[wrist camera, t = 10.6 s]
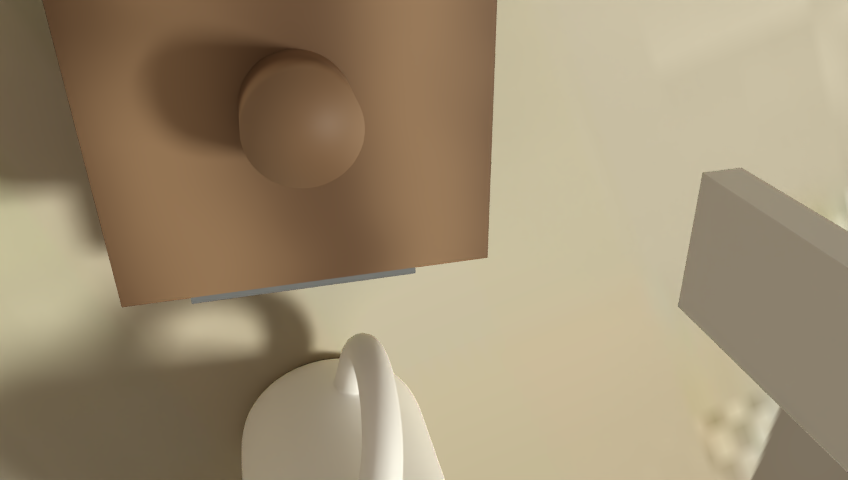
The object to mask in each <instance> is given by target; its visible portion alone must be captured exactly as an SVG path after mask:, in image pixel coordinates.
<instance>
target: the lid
mask: <svg viewBox="0 0 848 480" xmlns="http://www.w3.org/2000/svg"><path fill="white" fill-rule="evenodd" d="M42 1H43V5H44V9H45V13H46V17H47V21H48V24H49V28H50V32H51V36H52V40H53V44H54V48H55V51H56V55H57V59H58V63H59V67H60V71H61V74H62V78H63V82H64V86H65V90H66V94H67V98H68V101H69V105H70V109H71V113H72V117H73V121H74V125H75V128H76V132H77V136H78V140H79V144H80V148H81V152H82V155H83V159H84V163H85V167H86V171H87V175H88V179H89V182H90V186H91V190H92V194H93V198H94V202H95V206H96V209H97V213H98V217H99V221H100V225H101V229H102V233H103V236H104V240H105V244H106V248H107V252H108V256H109V260H110V263H111V267H112V271H113V275H114V279H115V283H116V287H117V290H118V294H119V298H120V302H121V306H122V307H128V306H135V305H142V304H150V303H157V302H164V301H172V300H179V299H186V298H194V297H201V296H209V295H216V294H223V293H231V292H238V291H245V290H253V289H260V288H267V287H275V286H282V285H289V284H297V283H304V282H312V281H319V280H326V279H334V278H341V277H348V276H356V275H363V274H370V273H378V272H385V271H392V270H400V269H407V268H415V267H422V266H429V265H437V264H444V263H451V262H459V261H466V260H473V259H481V258H487V256H488V229H489V202H490V175H491V149H492V122H493V95H494V68H495V41H496V14H497V0H42Z"/></svg>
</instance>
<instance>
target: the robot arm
mask: <svg viewBox="0 0 848 480" xmlns="http://www.w3.org/2000/svg"><path fill="white" fill-rule="evenodd" d="M678 307H679V308H680V309H681V310H682V311H683V312H684V313H685V314H686V315H687V316H688V317H689V318H690V319H691V320H692V321H693V322H694V323H696V324H697V325H698V326H699V327H700V328H701V329H702V330H703V331H704V332H705V333H706V334H707V335H708V336H709V337H710V338H711V339H712V340H713V341H714V342H715V343H716V344H717V345H718V346H719V347H720V348H721V349H722V350H723V351H724V352H725V353H726V354H727V355H728V356H729V357H730V358H731V359H732V360H733V361H734V362H735V363H736V364H737V365H738V366H739V367H740V368H741V369H742V370H743V371H745V372H746V373H747V374H748V375H749V376H750V377H751V378H752V379H753V380H754V381H755V382H756V383H757V384H758V385H759V386H760V387H761V388H762V389H763V390H764V391H765V392H766V393H767V394H768V395H769V396H770V397H771V398H772V399H773V400H774V401H775V402H776V403H777V404H778V405H779V406H780V407H781V408H782V409H783V410H784V411H785V412H786V413H787V414H789V416H790V417H791V418H792V419H794V420H795V421H796V422H797V423H798V424H799V425H800V426H801V427H802V428H803V429H804V430H805V431H806V432H807V433H808V434H809V435H810V436H811V437H812V438H813V439H814V440H815V441H816V442H817V443H818V444H819V445H820V446H821V447H822V448H823V449H824V450H825V451H826V452H827V453H828V454H829V455H830V456H831V457H832V458H833V459H835V461H836V462H837V463H838V464H839V465H840V466H842V467H843V468H844V469H845V470H846V471H847V472H848V231H846V230H845V229H843V228H841V227H840V226H838V225H836V224H835V223H833V222H831V221H830V220H828V219H826V218H825V217H823V216H821V215H820V214H818V213H816V212H815V211H813V210H811V209H810V208H808V207H806V206H805V205H803V204H801V203H800V202H798V201H796V200H795V199H793V198H791V197H790V196H788V195H786V194H785V193H783V192H781V191H780V190H778V189H776V188H775V187H773V186H771V185H770V184H768V183H766V182H765V181H763V180H761V179H760V178H758V177H756V176H755V175H753V174H751V173H750V172H748V171H746V170H744V169H743V168H736V169H728V170H720V171H712V172H703V174H702V179H701V184H700V190H699V195H698V201H697V206H696V211H695V217H694V222H693V228H692V233H691V239H690V244H689V249H688V255H687V260H686V266H685V271H684V276H683V282H682V287H681V293H680V298H679V303H678Z"/></svg>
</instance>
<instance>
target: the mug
mask: <svg viewBox="0 0 848 480" xmlns="http://www.w3.org/2000/svg"><path fill="white" fill-rule="evenodd" d="M242 480H445V479H444V476H443V473H442V470H441V467H440V464H439V461H438V458H437V456H436V453H435V450H434V447H433V444H432V441H431V438H430V435H429V433H428V430H427V427H426V424H425V421H424V418H423V416H422V413H421V410H420V408H419V405H418V403H417V401H416V399H415V397H414V395H413V394H412V392H411V390H410V389H409V387H408V386H407V385H406V384H405V383H404V381H403V380H401V379H400V378H399V377H398V376H397V375H396V374H394V373H393V370H392V367H391V363H390V360H389V358H388V355H387V353H386V351H385V349H384V347H383V346H382V344H381V342H380V341H379V340H378V339H377V338H375V337H374V336H372V335H370V334H365V333H360V334H356V335H354V336H353V337H351V338H350V339H348V341H347V342H346V344H345V345H344V347H343V349H342V351H341V354H340V358H339V359H328V360H321V361H317V362H313V363H309V364H307V365H304V366H301V367H298V368H296V369H294V370H292V371H290V372H288V373H287V374H285V375H283V376H282V377H280V378H279V379H277V380H276V381H275V382H273V383H272V384H271V385H270V386H269V387H268V388H267V389H266V390H265V391H264V392H263V393H262V394H261V395H260V396H259V398H258V399H257V400H256V402H255V403H254V405H253V406H252V408H251V410H250V412H249V414H248V416H247V419H246V422H245V426H244V431H243V436H242Z"/></svg>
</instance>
